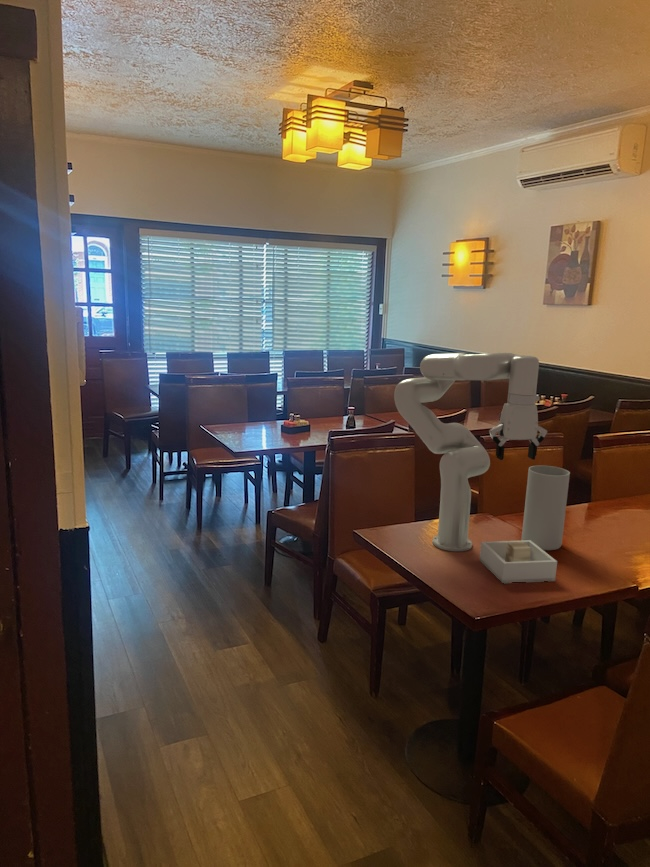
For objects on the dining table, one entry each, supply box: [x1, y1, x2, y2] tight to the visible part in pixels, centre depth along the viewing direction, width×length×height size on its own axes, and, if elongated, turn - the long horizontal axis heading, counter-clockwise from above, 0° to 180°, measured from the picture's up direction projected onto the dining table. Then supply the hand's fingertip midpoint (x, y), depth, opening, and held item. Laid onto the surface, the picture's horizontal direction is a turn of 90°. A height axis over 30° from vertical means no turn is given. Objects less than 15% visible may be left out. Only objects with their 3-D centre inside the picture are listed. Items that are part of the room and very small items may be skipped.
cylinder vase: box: [521, 465, 571, 551], centre depth 203 cm, size 12×12×25 cm
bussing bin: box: [479, 539, 558, 584], centre depth 184 cm, size 16×16×6 cm
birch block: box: [505, 540, 531, 562], centre depth 184 cm, size 5×5×7 cm
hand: (515, 458), depth 180 cm, fingers open, 9 cm apart
